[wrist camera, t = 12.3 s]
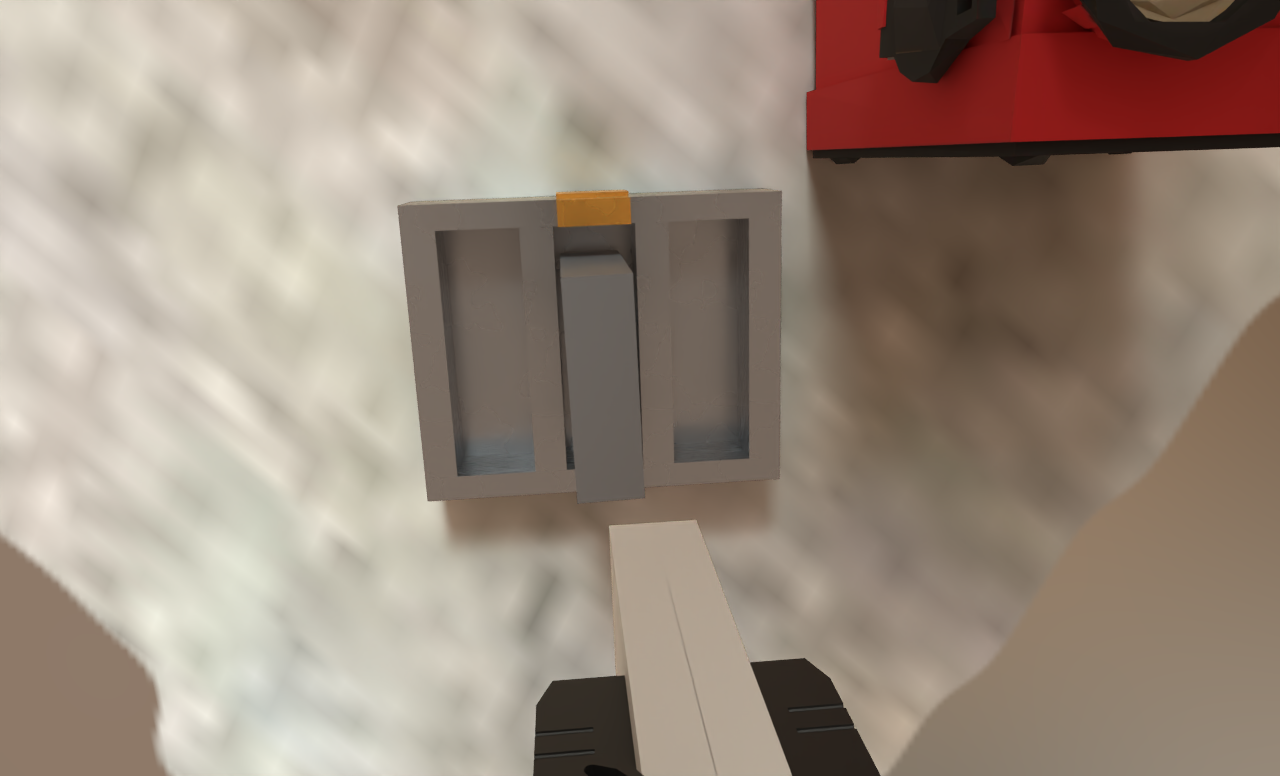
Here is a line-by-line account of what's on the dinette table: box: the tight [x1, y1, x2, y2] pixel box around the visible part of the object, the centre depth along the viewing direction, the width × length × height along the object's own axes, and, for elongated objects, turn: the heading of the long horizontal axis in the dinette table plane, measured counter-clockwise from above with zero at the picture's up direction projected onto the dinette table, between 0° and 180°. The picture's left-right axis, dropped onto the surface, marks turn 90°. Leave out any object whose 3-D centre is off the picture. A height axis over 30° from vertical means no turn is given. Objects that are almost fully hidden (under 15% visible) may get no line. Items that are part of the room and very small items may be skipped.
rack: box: [398, 188, 782, 501], centre depth 36 cm, size 12×15×4 cm
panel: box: [560, 250, 645, 504], centre depth 34 cm, size 8×2×8 cm, turn 3°
